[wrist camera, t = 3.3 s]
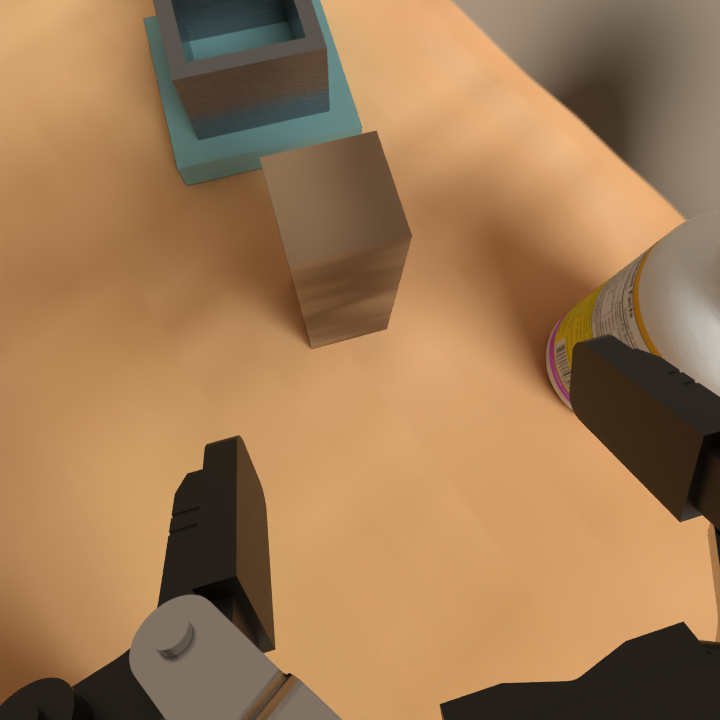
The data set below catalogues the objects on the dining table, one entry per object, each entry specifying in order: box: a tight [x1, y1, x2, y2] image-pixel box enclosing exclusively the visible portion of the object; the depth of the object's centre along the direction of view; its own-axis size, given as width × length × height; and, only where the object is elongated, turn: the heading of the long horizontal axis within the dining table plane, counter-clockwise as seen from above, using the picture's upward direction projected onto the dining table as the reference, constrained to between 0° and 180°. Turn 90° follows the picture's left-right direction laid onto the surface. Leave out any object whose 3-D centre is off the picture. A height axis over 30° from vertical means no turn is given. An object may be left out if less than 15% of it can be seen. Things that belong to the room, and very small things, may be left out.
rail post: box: [259, 131, 412, 349], centre depth 20 cm, size 4×4×10 cm
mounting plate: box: [143, 0, 362, 186], centre depth 27 cm, size 10×10×2 cm
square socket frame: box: [153, 0, 330, 140], centre depth 25 cm, size 7×7×4 cm
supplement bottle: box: [546, 210, 720, 411], centre depth 19 cm, size 7×7×13 cm
